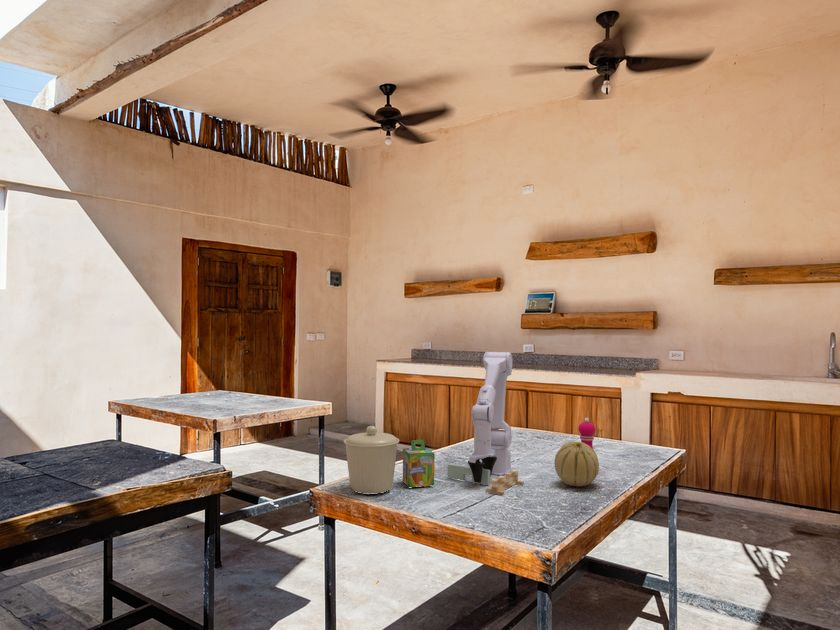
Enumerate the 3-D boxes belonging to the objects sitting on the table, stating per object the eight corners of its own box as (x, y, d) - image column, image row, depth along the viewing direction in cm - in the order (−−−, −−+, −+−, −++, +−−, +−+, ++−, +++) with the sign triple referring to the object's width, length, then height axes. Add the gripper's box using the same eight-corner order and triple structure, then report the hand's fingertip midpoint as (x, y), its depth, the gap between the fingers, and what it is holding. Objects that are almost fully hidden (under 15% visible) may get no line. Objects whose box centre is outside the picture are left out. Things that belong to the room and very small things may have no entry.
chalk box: (408, 489, 188) (408, 444, 188) (401, 482, 196) (401, 438, 197) (435, 487, 190) (435, 442, 190) (427, 480, 199) (427, 437, 199)
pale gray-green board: (450, 477, 202) (450, 463, 202) (490, 484, 193) (490, 470, 193) (447, 478, 201) (447, 464, 201) (487, 485, 192) (487, 470, 192)
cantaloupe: (581, 478, 202) (580, 435, 202) (608, 489, 188) (608, 443, 188) (545, 482, 196) (545, 438, 197) (571, 493, 183) (571, 446, 183)
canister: (399, 483, 195) (399, 421, 195) (399, 499, 177) (399, 430, 177) (346, 483, 194) (346, 421, 195) (340, 499, 176) (340, 431, 177)
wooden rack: (507, 481, 197) (507, 468, 197) (523, 484, 193) (523, 471, 194) (485, 492, 184) (485, 478, 184) (502, 495, 180) (502, 481, 181)
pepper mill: (598, 475, 205) (598, 419, 205) (577, 474, 207) (577, 419, 207) (596, 470, 212) (595, 416, 213) (576, 469, 214) (575, 415, 214)
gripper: (482, 444, 186) (482, 486, 185) (503, 437, 198) (503, 477, 197) (463, 442, 190) (463, 483, 190) (485, 435, 202) (485, 474, 201)
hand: (482, 480), depth 194 cm, fingers open, 6 cm apart
